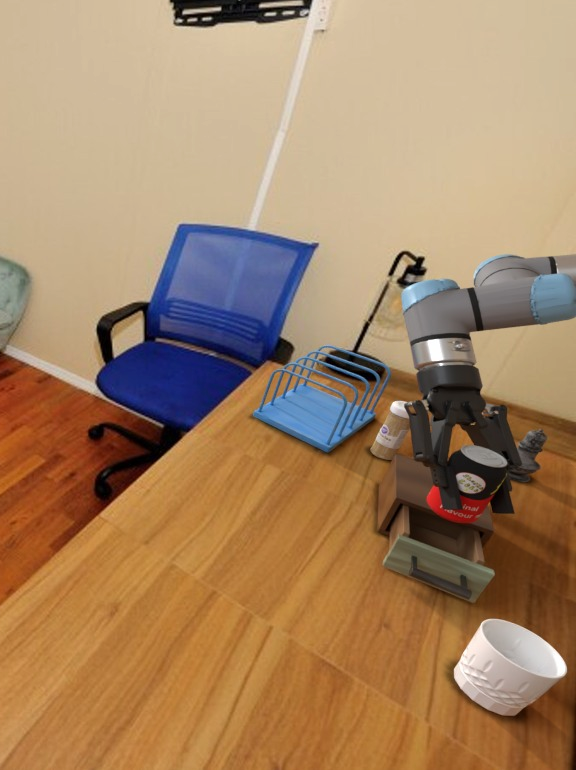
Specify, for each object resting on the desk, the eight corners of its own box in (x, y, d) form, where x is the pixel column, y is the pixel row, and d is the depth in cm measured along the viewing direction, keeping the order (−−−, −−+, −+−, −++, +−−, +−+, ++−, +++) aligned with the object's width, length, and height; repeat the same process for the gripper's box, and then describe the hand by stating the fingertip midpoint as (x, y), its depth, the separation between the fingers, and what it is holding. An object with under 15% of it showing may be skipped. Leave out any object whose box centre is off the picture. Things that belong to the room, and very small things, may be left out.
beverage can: (413, 498, 86) (445, 442, 81) (451, 498, 86) (485, 442, 81) (445, 526, 81) (481, 469, 75) (486, 527, 80) (525, 469, 75)
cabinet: (469, 567, 88) (494, 531, 84) (377, 532, 96) (395, 497, 92) (461, 513, 99) (483, 479, 95) (378, 485, 107) (395, 452, 102)
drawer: (477, 625, 78) (499, 595, 75) (382, 584, 85) (398, 556, 82) (465, 545, 91) (483, 518, 88) (383, 516, 98) (397, 489, 95)
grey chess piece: (487, 468, 111) (515, 424, 105) (501, 461, 113) (529, 417, 107) (523, 486, 106) (555, 440, 100) (537, 478, 108) (569, 433, 102)
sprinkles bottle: (364, 449, 117) (387, 401, 111) (381, 447, 118) (405, 398, 111) (383, 462, 113) (408, 412, 107) (400, 459, 114) (426, 410, 107)
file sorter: (327, 454, 116) (351, 398, 108) (251, 417, 129) (268, 365, 122) (374, 419, 127) (399, 366, 120) (300, 388, 140) (318, 339, 133)
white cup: (507, 732, 66) (549, 689, 62) (435, 675, 73) (468, 632, 68) (537, 705, 69) (579, 662, 64) (465, 653, 75) (498, 610, 71)
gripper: (399, 359, 83) (428, 506, 76) (533, 365, 80) (575, 517, 74) (367, 371, 90) (391, 506, 83) (489, 377, 88) (524, 516, 81)
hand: (477, 511), depth 78 cm, fingers closed on beverage can, 6 cm apart
